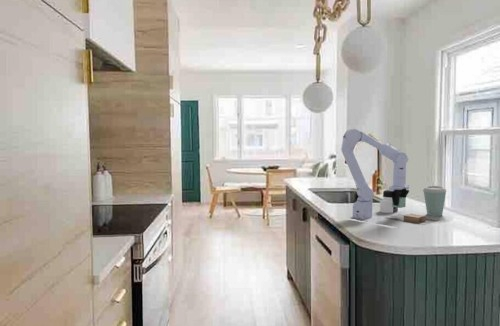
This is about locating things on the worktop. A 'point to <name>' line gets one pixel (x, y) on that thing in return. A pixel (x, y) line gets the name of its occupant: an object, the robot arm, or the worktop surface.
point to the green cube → (400, 202)
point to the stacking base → (401, 218)
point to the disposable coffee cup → (434, 199)
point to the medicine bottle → (387, 203)
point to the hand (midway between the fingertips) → (398, 204)
